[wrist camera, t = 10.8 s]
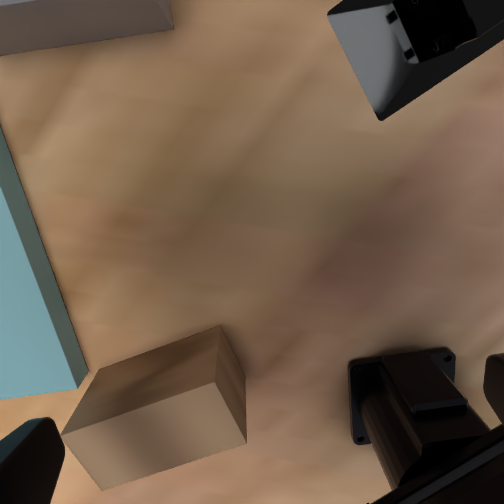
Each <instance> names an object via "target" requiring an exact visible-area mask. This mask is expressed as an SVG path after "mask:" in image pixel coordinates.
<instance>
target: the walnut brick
mask: <svg viewBox="0 0 504 504" xmlns="http://www.w3.org/2000/svg"><path fill="white" fill-rule="evenodd" d="M60 436H61V438H62V440H63V441H64V443H65V444H66V445H67V447H68V448H69V449H70V450H71V452H72V453H73V454H74V456H75V457H76V458H77V460H78V461H79V462H80V463H81V465H82V466H83V467H84V469H85V470H86V471H87V473H88V474H89V475H90V476H91V478H92V479H93V480H94V482H95V483H96V484H97V485H98V487H99V488H100V489H101V491H104V490H107V489H110V488H113V487H116V486H119V485H122V484H125V483H128V482H131V481H134V480H137V479H140V478H143V477H146V476H149V475H152V474H155V473H158V472H162V471H165V470H168V469H171V468H174V467H177V466H180V465H183V464H186V463H189V462H192V461H195V460H198V459H201V458H204V457H207V456H210V455H213V454H216V453H219V452H222V451H225V450H228V449H231V448H234V447H237V446H240V445H243V444H246V443H247V429H246V390H245V375H244V373H243V371H242V369H241V367H240V365H239V363H238V361H237V359H236V357H235V355H234V353H233V351H232V349H231V347H230V345H229V343H228V341H227V339H226V336H225V334H224V332H223V330H222V328H221V326H220V325H219V326H216V327H214V328H211V329H208V330H206V331H203V332H200V333H197V334H195V335H192V336H189V337H186V338H184V339H181V340H178V341H176V342H173V343H170V344H167V345H165V346H162V347H159V348H156V349H154V350H151V351H148V352H146V353H143V354H140V355H137V356H135V357H132V358H129V359H126V360H124V361H121V362H118V363H115V364H113V365H110V366H107V367H105V368H102V369H99V371H98V372H97V374H96V376H95V377H94V379H93V381H92V382H91V384H90V386H89V387H88V389H87V391H86V392H85V394H84V396H83V398H82V399H81V401H80V403H79V404H78V406H77V408H76V409H75V411H74V413H73V414H72V416H71V418H70V419H69V421H68V423H67V424H66V426H65V428H64V430H63V431H62V433H61V435H60Z"/></svg>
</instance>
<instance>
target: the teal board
mask: <svg viewBox="0 0 504 504" xmlns="http://www.w3.org/2000/svg"><path fill="white" fill-rule="evenodd" d="M87 373H88V369H87V366H86V363H85V360H84V358H83V355H82V352H81V349H80V347H79V344H78V341H77V338H76V335H75V333H74V330H73V327H72V324H71V322H70V319H69V316H68V313H67V311H66V308H65V305H64V302H63V299H62V297H61V294H60V291H59V288H58V286H57V283H56V280H55V277H54V274H53V272H52V269H51V266H50V263H49V261H48V258H47V255H46V252H45V249H44V247H43V244H42V241H41V238H40V236H39V233H38V230H37V227H36V225H35V222H34V219H33V216H32V213H31V211H30V208H29V205H28V202H27V200H26V197H25V194H24V191H23V188H22V186H21V183H20V180H19V177H18V175H17V172H16V169H15V166H14V164H13V161H12V158H11V155H10V152H9V150H8V147H7V144H6V141H5V139H4V136H3V133H2V130H1V127H0V400H3V399H10V398H17V397H24V396H31V395H38V394H45V393H53V392H60V391H67V390H74V389H78V387H79V386H80V384H81V383H82V381H83V380H84V378H85V376H86V375H87Z"/></svg>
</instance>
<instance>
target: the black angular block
mask: <svg viewBox="0 0 504 504" xmlns="http://www.w3.org/2000/svg"><path fill="white" fill-rule="evenodd" d="M327 17H328V20H329V22H330V24H331V26H332V28H333V30H334V32H335V34H336V36H337V38H338V40H339V42H340V44H341V46H342V48H343V50H344V52H345V54H346V56H347V58H348V60H349V62H350V64H351V66H352V68H353V70H354V72H355V74H356V76H357V78H358V80H359V82H360V84H361V86H362V88H363V90H364V92H365V94H366V96H367V98H368V100H369V102H370V104H371V106H372V108H373V110H374V112H375V114H376V116H377V118H378V120H380V121H383V120H384V119H386V118H387V117H389V116H390V115H392V114H393V113H395V112H396V111H398V110H399V109H401V108H402V107H404V106H405V105H407V104H408V103H410V102H411V101H413V100H414V99H416V98H417V97H419V96H420V95H422V94H423V93H425V92H426V91H428V90H429V89H431V88H432V87H434V86H435V85H437V84H438V83H439V82H441V81H442V80H444V79H445V78H447V77H448V76H450V75H451V74H453V73H454V72H456V71H457V70H459V69H460V68H462V67H463V66H465V65H466V64H468V63H469V62H471V61H472V60H474V59H475V58H477V57H478V56H480V55H481V54H483V53H484V52H486V51H487V50H489V49H490V48H492V47H493V46H494V45H496V44H497V43H499V42H500V41H502V40H503V39H504V0H343V1H341V2H340V3H339V4H337V5H336V6H335V7H333V8H332V9H331V10H330V11H329V12H328V14H327Z"/></svg>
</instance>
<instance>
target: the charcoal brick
mask: <svg viewBox="0 0 504 504" xmlns="http://www.w3.org/2000/svg"><path fill="white" fill-rule="evenodd" d="M173 29H174V27H173V21H172V16H171V10H170V5H169V0H0V56H2V55H9V54H15V53H22V52H28V51H35V50H42V49H48V48H55V47H61V46H68V45H75V44H81V43H88V42H94V41H101V40H108V39H114V38H121V37H127V36H134V35H140V34H147V33H154V32H160V31H167V30H173Z"/></svg>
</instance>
